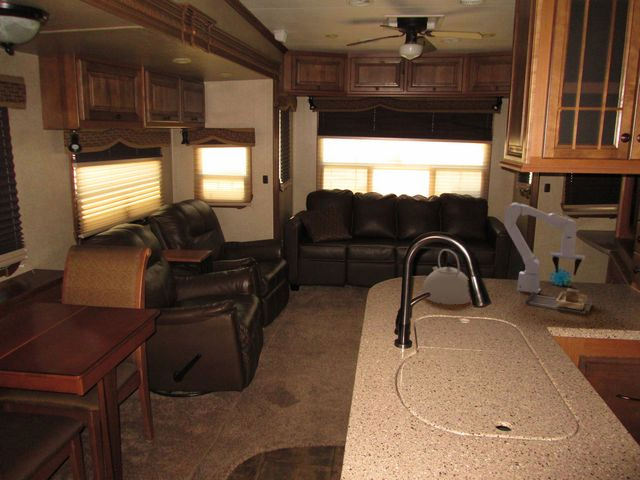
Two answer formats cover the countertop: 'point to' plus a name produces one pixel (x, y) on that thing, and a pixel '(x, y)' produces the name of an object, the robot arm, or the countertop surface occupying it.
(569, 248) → the robot arm
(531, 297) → the rail base
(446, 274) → the kettle
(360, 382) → the countertop surface
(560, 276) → the gear
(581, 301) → the shallow wooden tray
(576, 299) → the part block
